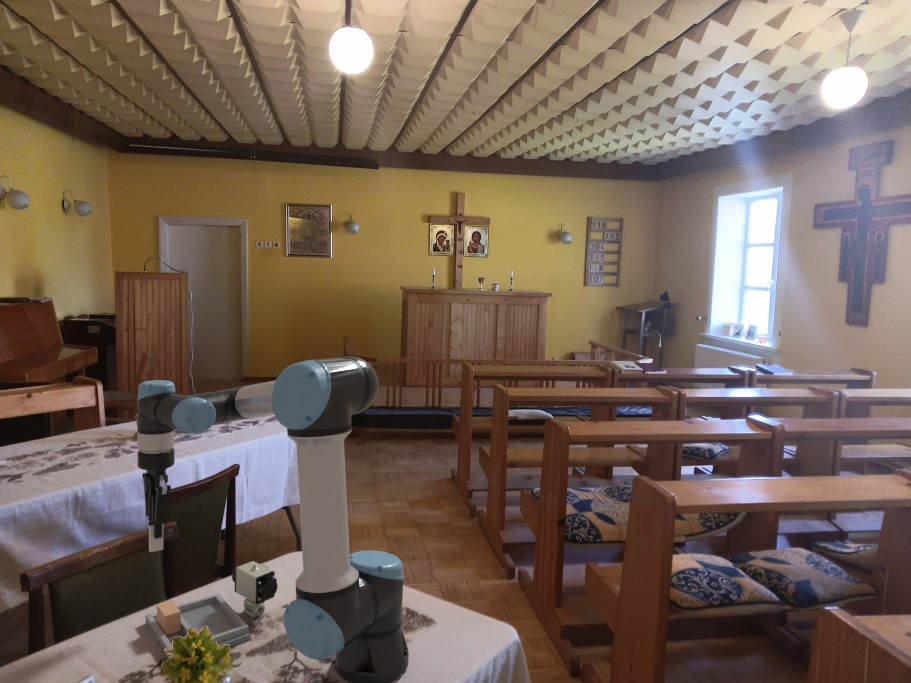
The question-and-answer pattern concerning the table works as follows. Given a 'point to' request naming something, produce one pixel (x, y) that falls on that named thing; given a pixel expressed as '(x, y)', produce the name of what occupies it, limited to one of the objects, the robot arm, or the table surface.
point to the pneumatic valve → (254, 586)
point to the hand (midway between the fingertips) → (156, 549)
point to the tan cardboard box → (169, 617)
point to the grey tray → (204, 622)
